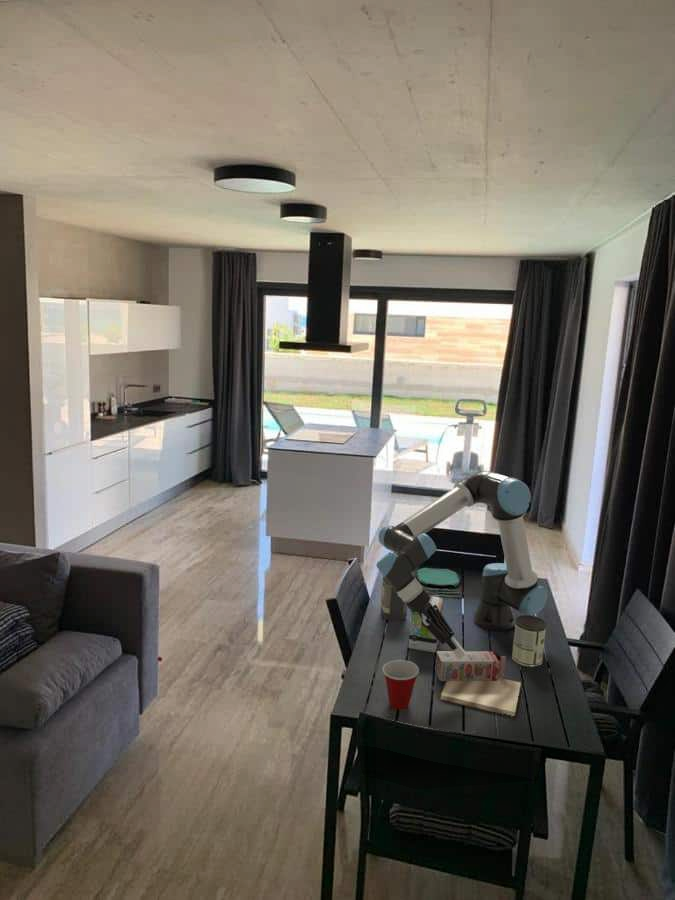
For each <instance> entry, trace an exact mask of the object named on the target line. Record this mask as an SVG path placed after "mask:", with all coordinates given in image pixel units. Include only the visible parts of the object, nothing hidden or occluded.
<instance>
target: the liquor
mask: <svg viewBox="0 0 675 900" xmlns="http://www.w3.org/2000/svg"><path fill="white" fill-rule="evenodd" d="M396 554H397V553H396ZM381 582H382V584H381V587H382V588H381V598H380V599H381V601H380V613H381V614H382V615H381V616H382V617H383V619H384V618H385V619H384V620H387V619H388V620H387V621H390V620H391V621H403V620H405V619H406V618H407V616H408V615H407V614H408V606H407V605H406V603H407V602H404V601H403V600H402V599H401V597H399V596H398V594H397V592H396V591H395V590H394V589H393V587H392V586H391V585H390V584H389V583H388V581H387V580H386V579H385V578H384V577H383V576H382V581H381Z"/></svg>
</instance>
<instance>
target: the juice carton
mask: <svg viewBox="0 0 675 900" xmlns="http://www.w3.org/2000/svg"><path fill="white" fill-rule="evenodd" d="M464 651H465V652H466V655H465V656H463V657H462V658H460V659H458V658H457V656H456V655H455V654H454V653H453V651H452V650H451V651H449V650H448V651H445V650H444V651H439V650H436V652H435V653H436V656H435V665H434V666H435V667H434V671H435V673H436V676H437V678H438V680H439V681H440V682H446V681H497V680H498V678H500V676H501V677H502V676H505V670H506V669H505V667H506V660H507V656H506V655H504V656H503V655H502V656H501V655H500V654H498V653H496V652H494V651H486V650H485V651H477V650H476V651H472V650H471V651H466V650H464Z"/></svg>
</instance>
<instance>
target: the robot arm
mask: <svg viewBox="0 0 675 900" xmlns="http://www.w3.org/2000/svg"><path fill="white" fill-rule="evenodd" d="M531 500H532V496H531V491H530V488H529V487H528V485H527V484H526V483H525V482H523V481H521V480H519V479H518V478H516V477H511V476H507V475H504V474H501V473H498V472H495V471H491V470H484V471H479V472H476V473H473V474H472V473H471V474H470V475H468V476H466V477H464V478H461V479H460V480H459V481H457V482H456V483H455V484H454V486H453V488H451V490H449V491H447V492H446V493H444V494H443V495H441V496H440V497H438V498H436V499H435V500H433V501H432V502H431V503H429V504H428V505H426V506H424V507H423V508H421V509H420V510H418V511H416V512H415V513H413V514H412V515H410V516H409V517H407V518H406V519H404V520H403V521H402V522H399V523H398V524H397V525H395V526H394V525H384V526H383V527H381V529H380V530H379V532H378V535H377V536H378V542H379V544H381V545H382V547H384V549H385V548H386V550H390V551H389V552H388V553H386V554H385V555H383V557H381V558H380V559H379V560H377V562H376V568H377V569H378V571H379V572H380V574H381V575H382V578H383V577H384V578H385V579H386V580H387V581H388V583H389V584H390V585H391V586H392V587H393V589H394V590H395V591H396V592H397V594H398V596H399V597H401V599H402V600H403V601H404V602H407V603H406V605H407V609H409V610H410V611H411V613H412V612H413V613H415V612H418V613H419V615H420V617H421V618H422V619H423V622H421V624H422V625H423V626H424V627H426V628H427V629H428V630H429V631H430V632H431V633H432V634H433V635H434V636H435V637H436V638H437V639H438V642H440V644H442V645H444V644H446V645H447V647H448V648H449V649H450V650H451V651H453V653H454V654H455V655H456V656H457V658H458V659H460V658H462V657H463V656H465V655H466V652H465V651H466V650H465V649H464V648H463V647H462V646H461V644H460V643H459V642H458V641H457V639H456V638H455V637H454V635H455V632H454V631H453V629H452V628H451V626H450V624H449V623H448V621H447V620H446V618H445V617H444V615H443V613H442V614H441V612H440V611H439V609H438V607H437V605H436V604H435V605H434V606H432V604H431V603H429V601H430V599H431V597H430V596H429V595H430V594H429V592H428V593H427V592H426V591H427V590H426V589H423V585H422V583H421V582H420V581H419V580H418V579H417V577H416V576H414V575H413V572H414V571H415V570H417V568H419V567H420V566H421V565H422V564H423V563H425V562H426V561H427V560H429V559H430V558H431V556H432V555H433V554H435V552H436V551H437V545H436V544H435V542H434V541H433V539H432V538H431V537H430V536H429V535H428V534H427V533H428V532H429V531H431V530H432V529H434V528H435V527H436V526H438V525H440V524H442V523H443V522H444V521H446V520H447V519H449V518H450V517H452V516H454V515H455V514H456V513H458V512H459V511H461V510H463V508H465V507H467V508H470V507H472V506H474V505H475V504H480V503H481V504H485V505H487V506H489V507H490V511H491V516H492V518H493V519H494V520H496V521H497V524H498V530H499V534H500V535H499V536H500V538H501V539H500V540H501V545H502V550H503V555H504V556H503V557H504V560H505V563H501V562H496V563H495V562H494V563H488V564H486V565H485V566H484V567H483V571H482V575H481V576H482V577H481V586H480V587H481V588H480V589H481V590H480V599H479V603H478V604H477V606H476V609H475V611H474V613H473V621H474V622H475V624H476V625H478V626H479V627H482V628H483V629H487V630H491V631H498V632H499V631H500V632H501V631H508V630H511V629H512V628H513V627H515V617H514V616H515V615H514V613H513V609H514V610H516V611H518V612H519V613H521V614H524V615H528V616H534V615H537V614H538V613H539V612H541V610H542V609H543V608H544V607H545V605H546V603H547V599H548V590H547V588H545V587H544V586H543V585H540V582H539V577H538V574H537V573H536V572H535V571H534V570H533V568H532V562H531V558H530V552H529V546H528V540H527V533H526V528H525V522H524V516H525V515H526V513H527V511H528V509H529V507H530V503H531ZM396 553H397V554H396Z"/></svg>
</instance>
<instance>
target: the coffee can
mask: <svg viewBox="0 0 675 900" xmlns="http://www.w3.org/2000/svg"><path fill="white" fill-rule="evenodd" d="M547 626H548V623H547V622H546V621H545V620H544V619H543V618H540V617H538V616H534V615H526V614H524V615H518V616H517V617H515V618H514V636H513V643H512V644H513V645H512V654H511V659H512V660H513V661H514V662H515V663H517V664H518V665H520V666H524V667H528V666H529V668H536V667H535V666H537V667H539V666H541V665H542V664H543V656H544V647H545V640H546V629H547ZM538 665H539V666H538Z"/></svg>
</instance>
